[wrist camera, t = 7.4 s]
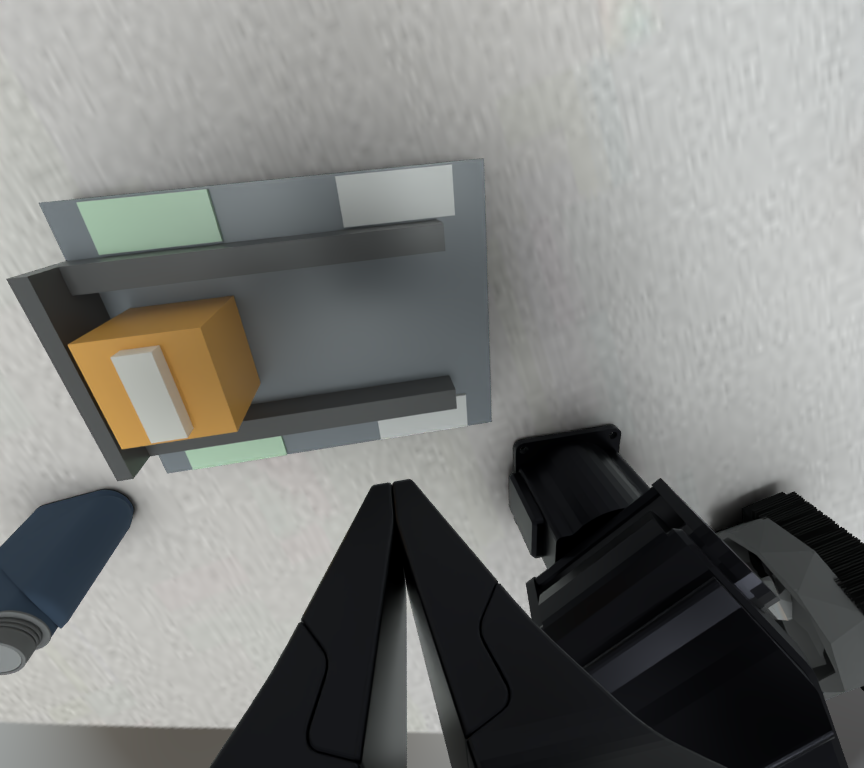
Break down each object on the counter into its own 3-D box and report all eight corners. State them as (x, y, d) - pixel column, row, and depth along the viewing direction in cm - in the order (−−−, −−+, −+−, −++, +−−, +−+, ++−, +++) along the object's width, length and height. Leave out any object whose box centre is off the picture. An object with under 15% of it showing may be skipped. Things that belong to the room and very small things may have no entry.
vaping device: (23, 507, 22) (-288, 814, 12) (122, 481, 22) (-94, 759, 12) (53, 541, 23) (-202, 848, 13) (148, 516, 24) (-27, 797, 13)
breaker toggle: (233, 295, 17) (193, 333, 13) (260, 383, 19) (233, 440, 15) (129, 308, 17) (54, 351, 13) (167, 396, 19) (112, 459, 14)
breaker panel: (471, 159, 18) (507, 155, 14) (481, 403, 24) (509, 456, 19) (73, 199, 17) (-33, 209, 12) (182, 449, 22) (137, 518, 18)
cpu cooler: (702, 502, 30) (848, 643, 21) (779, 470, 30) (960, 599, 21) (714, 586, 35) (836, 730, 26) (780, 559, 35) (927, 695, 26)
